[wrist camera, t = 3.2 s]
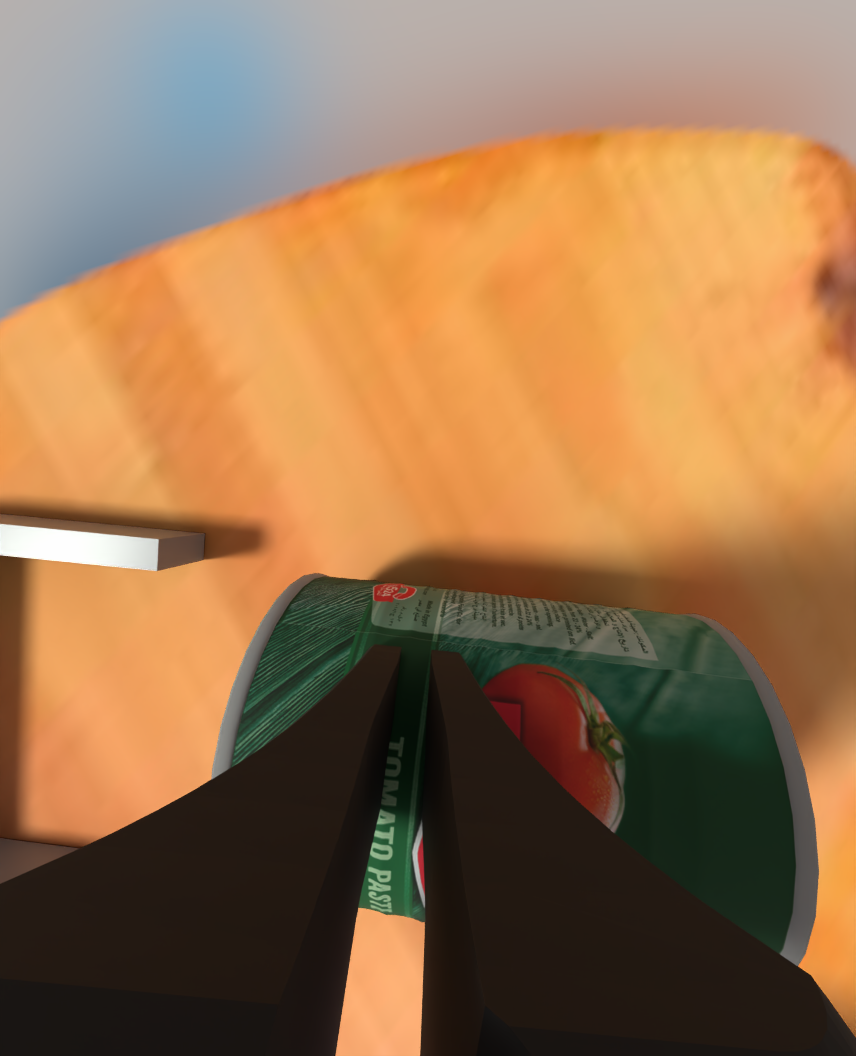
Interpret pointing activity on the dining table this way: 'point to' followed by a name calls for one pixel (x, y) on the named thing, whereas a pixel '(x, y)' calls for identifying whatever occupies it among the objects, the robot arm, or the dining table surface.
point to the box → (94, 548)
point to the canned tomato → (565, 732)
